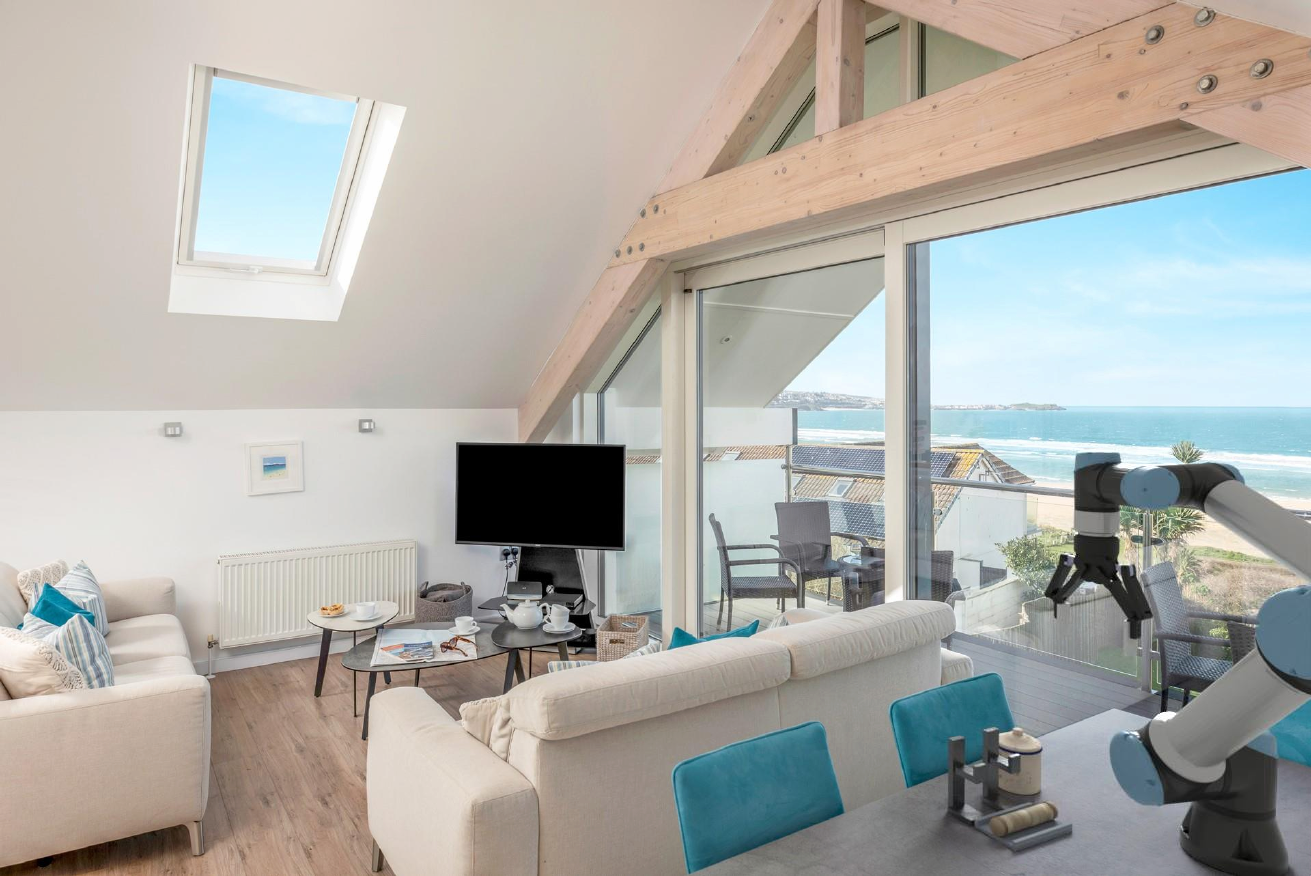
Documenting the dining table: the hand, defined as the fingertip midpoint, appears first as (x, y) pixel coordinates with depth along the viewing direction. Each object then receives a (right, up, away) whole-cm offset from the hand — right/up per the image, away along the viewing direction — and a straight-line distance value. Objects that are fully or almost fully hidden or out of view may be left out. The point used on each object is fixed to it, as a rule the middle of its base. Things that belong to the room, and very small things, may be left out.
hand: (1095, 646), depth 152 cm
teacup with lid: (-11, -32, +12) cm, 35 cm away
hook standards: (-20, -32, +2) cm, 38 cm away
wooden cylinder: (-15, -32, -5) cm, 35 cm away
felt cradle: (-16, -32, -5) cm, 36 cm away
